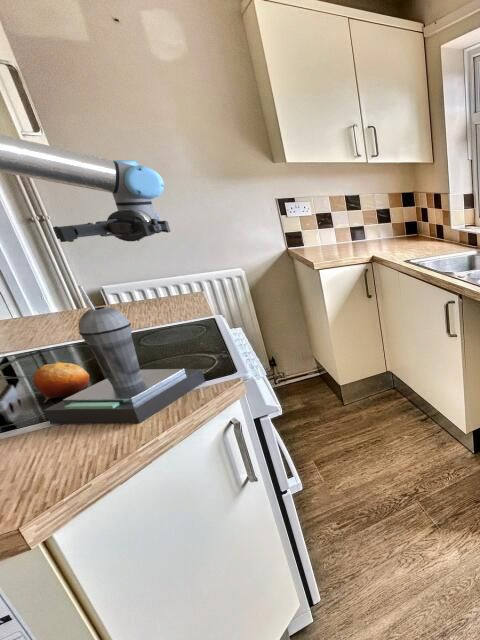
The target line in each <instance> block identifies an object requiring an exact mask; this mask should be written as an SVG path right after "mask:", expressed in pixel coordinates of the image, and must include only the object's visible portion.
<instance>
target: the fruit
mask: <svg viewBox="0 0 480 640" xmlns="http://www.w3.org/2000/svg"><path fill="white" fill-rule="evenodd" d="M32 382H33V386H34V388H36V389H37V390H38V391H39V393H40V394H41V395H42V396H43V397H44V398H45V400H43V402H44V403H45V404H46V403H47V401H49V400H50V399H55V398H68V397H70V396H72V395H74V394H76V393H78V392H80V391H82V390H84V389H86V388H87V386H88V384H89V382H90V373H89V372H87V370H85V369H84V368H83V367H82V366H80V365H78V364H75V363H71V362H61V361H60V362H54V363H49V364H48V363H47V364H43V365H42V366H40V368H38V369H37V370H36V371H35V373H34V375H33V381H32Z"/></svg>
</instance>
